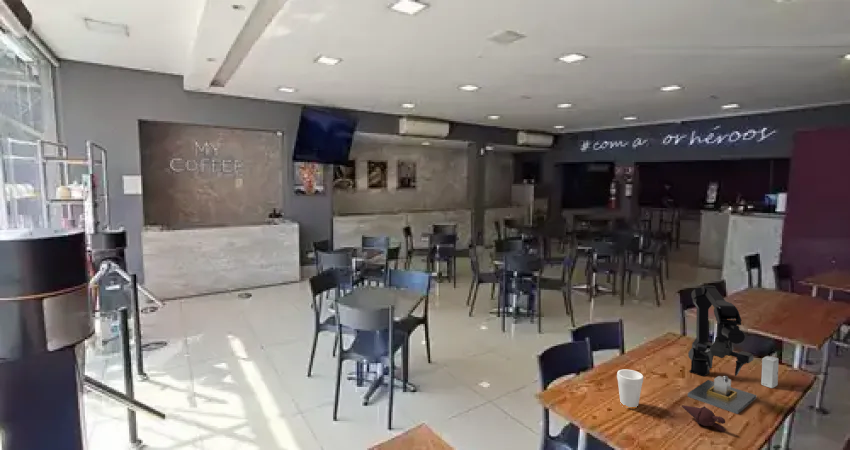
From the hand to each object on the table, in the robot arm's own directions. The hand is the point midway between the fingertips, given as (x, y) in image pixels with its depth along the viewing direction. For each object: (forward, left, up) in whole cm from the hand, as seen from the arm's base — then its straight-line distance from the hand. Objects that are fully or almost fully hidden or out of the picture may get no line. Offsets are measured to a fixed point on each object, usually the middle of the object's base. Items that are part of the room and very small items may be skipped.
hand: (723, 371), depth 181 cm
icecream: (+4, -28, -11) cm, 30 cm away
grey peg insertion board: (0, 0, -11) cm, 11 cm away
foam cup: (-20, -36, -11) cm, 43 cm away
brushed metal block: (0, 0, -11) cm, 11 cm away
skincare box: (+8, +29, -11) cm, 32 cm away
